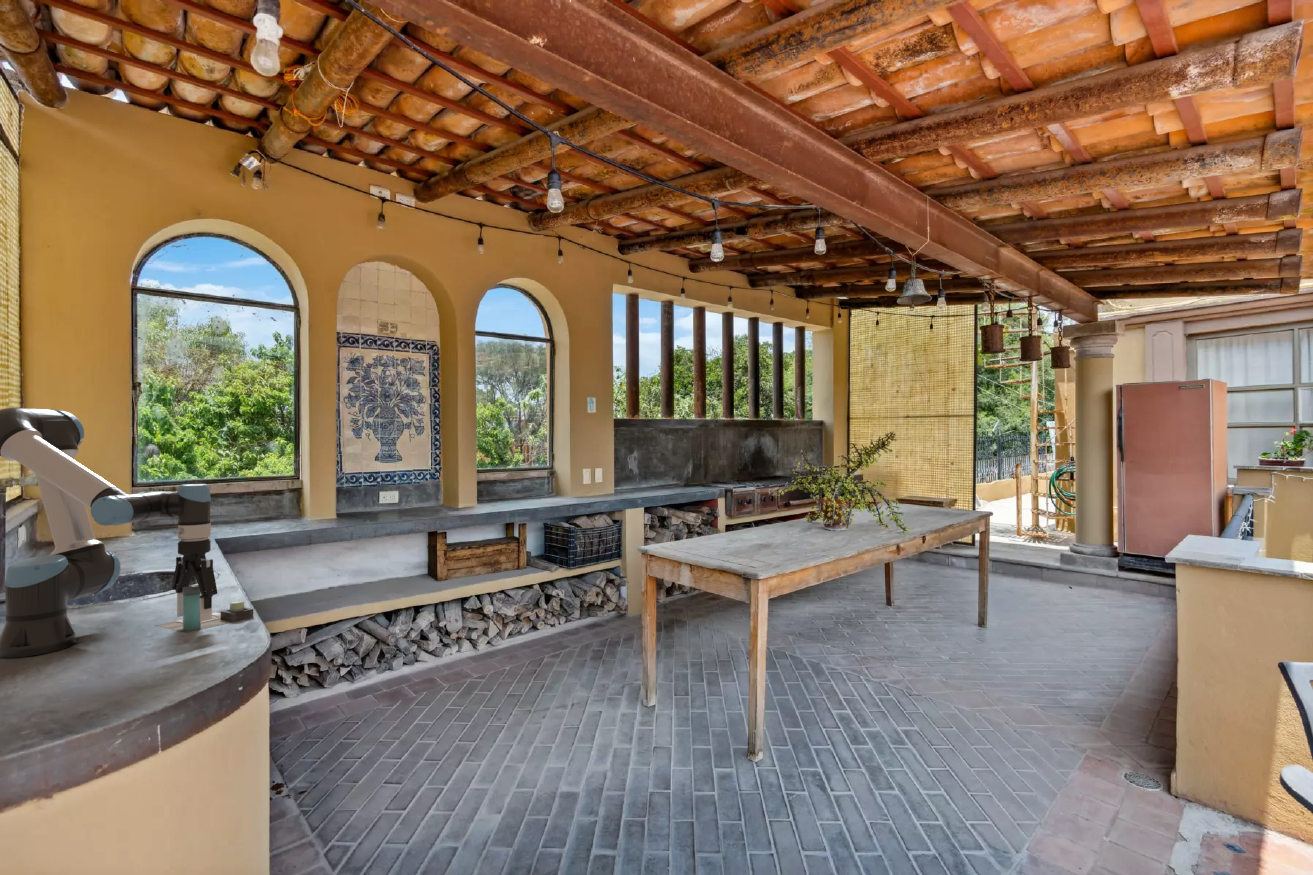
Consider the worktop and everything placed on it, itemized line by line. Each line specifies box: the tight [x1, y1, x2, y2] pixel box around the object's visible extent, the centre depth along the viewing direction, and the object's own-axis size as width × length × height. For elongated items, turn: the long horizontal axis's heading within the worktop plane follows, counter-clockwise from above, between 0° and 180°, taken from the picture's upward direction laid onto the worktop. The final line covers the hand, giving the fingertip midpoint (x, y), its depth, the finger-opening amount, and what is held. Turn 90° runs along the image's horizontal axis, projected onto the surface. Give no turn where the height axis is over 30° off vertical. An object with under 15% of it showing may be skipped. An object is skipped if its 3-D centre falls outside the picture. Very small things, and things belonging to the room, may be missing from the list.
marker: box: [182, 584, 201, 632], centre depth 182 cm, size 4×4×12 cm
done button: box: [229, 600, 245, 613], centre depth 194 cm, size 4×4×3 cm
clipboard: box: [155, 606, 254, 634], centre depth 191 cm, size 16×18×4 cm
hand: (194, 617), depth 183 cm, fingers open, 10 cm apart
